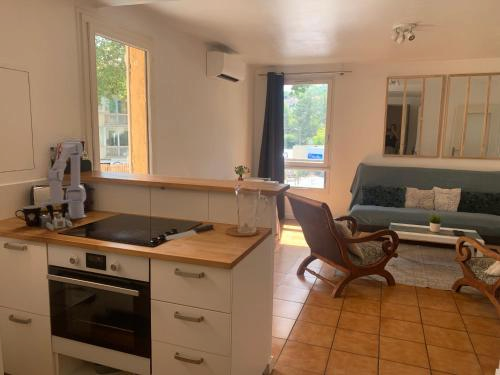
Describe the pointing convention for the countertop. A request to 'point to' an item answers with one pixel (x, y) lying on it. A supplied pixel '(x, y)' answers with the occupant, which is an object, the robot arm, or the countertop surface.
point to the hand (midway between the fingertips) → (58, 218)
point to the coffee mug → (31, 215)
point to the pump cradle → (53, 226)
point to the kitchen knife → (190, 232)
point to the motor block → (47, 218)
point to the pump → (58, 222)
